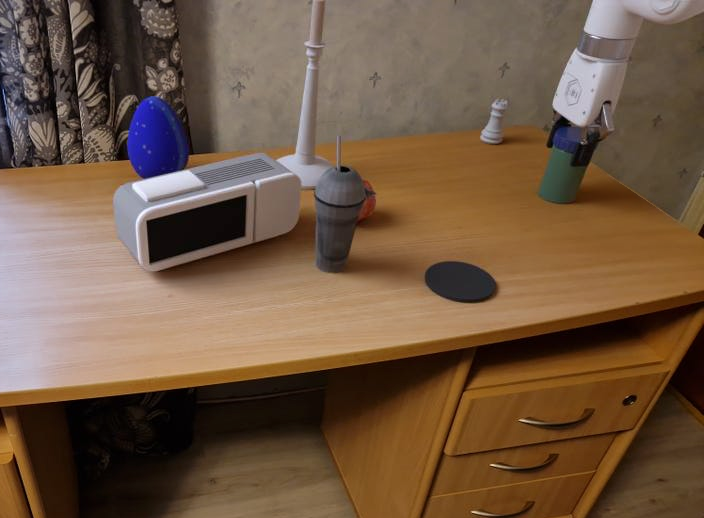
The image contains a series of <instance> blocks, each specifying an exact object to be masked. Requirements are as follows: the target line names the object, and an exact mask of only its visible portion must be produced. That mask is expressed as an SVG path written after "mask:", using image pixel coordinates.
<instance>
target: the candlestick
mask: <svg viewBox="0 0 704 518" xmlns="http://www.w3.org/2000/svg"><path fill="white" fill-rule="evenodd" d="M311 5H312V6H311V18H310V27H309V29H310V31H309V40H308V41H304V42H303V44H304V46H305V47H306V52H305V54H306V56H307V57H308V64H307V65H306V73H305V74H306V75H305V79H304V80H305V81H304V88H303V96H302V103H301V111H300V118H299V124H298V132H297V134H298V135H297V139H296V140H297V141H296V147H295V153H294V154H288V155H284V156H282V157H280V158H278V159H275V160H276V161H277V162H279V163H280V164H282V165H283V166H284V167H286V168H287V169H289V170H290V171H292V172H293V173H294V174H296V175H297V176H299V178H300V180H301V184H302V188H301V190H307V191H308V190H309V191H311V190H315V189H316V185H317V183H318V181H319V179H320V178H321V176H322V175H323V174H324V173H325V172H326V171H327V170H329V169H330V168H332V167H335V166H336V165H334V164H333V162H331V161H330V160H328V159H326V158H325V157H322V156H319V155H316V139H317V138H316V136H317V135H316V134H317V116H318V115H317V114H318V95H319V74H320V66H319V61H320V58H321V57H322V56H323V49H324V47H326V46H327V42H324V41H322V40H323V31H324V19H325V10H326V9H325V8H326V0H312V4H311Z"/></svg>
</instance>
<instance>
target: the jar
mask: <svg viewBox="0 0 704 518" xmlns="http://www.w3.org/2000/svg"><path fill="white" fill-rule="evenodd" d="M573 153H574V152H571V151H567V150H564V149H561V148H559V147H557V146H556V145H555V144H554V143H553V146H552V148H550V153H549V155H548V158H547V161H546V164H545V168H544V170H543V173H542V175H541V179H540V181H539V182H540V183H539V185H538V189H537V195H538V196H539V197H540V198H541V199H542V200H544V201H547V202H550V203H553V204H560V205H562V204H563V205H565V204H567V205H568V204H571V203H573V202H575V201H576V198H577V195H578V193H579V190H580V188H581V185H582V182H583V180H584V177H585V174H586V172H587V169H588V167H589V165H588V166H579V167H572V166H570V162H571V159H572V156H573Z"/></svg>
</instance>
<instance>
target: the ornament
mask: <svg viewBox="0 0 704 518" xmlns="http://www.w3.org/2000/svg"><path fill="white" fill-rule="evenodd" d="M126 147H127V154H128V159H129V163H130V164H131V166H132V168H133V170H134V171H135V173H136V174H137V175H138V176H139V177H140V178H141V179H142V180H143V179H147V178H151V177H156V176H160V175H164V174H169V173H173V172H177V171H181V170H185V169H186V167H187V165H188V163H189V158H190V148H189V143H188V139H187V136H186V133H185V130H184V128H183V125H182V122H181V121H180V119H179V117H178V115H177V114H176V112H175V111H174V109H173V108H172V107H171V106H170V105H169V103H168V102H167V101H166V100H164V99H163V98H161V97H159V96H156V95H154V96H153V95H151V96H149V97H147V98H144V100H142V101H141V102H140V103H139V104H138V106H137V108H136V110H135V111H134V114H133V116H132V119H131V122H130V125H129V130H128V134H127V145H126Z"/></svg>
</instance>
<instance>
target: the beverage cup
mask: <svg viewBox="0 0 704 518" xmlns="http://www.w3.org/2000/svg"><path fill="white" fill-rule="evenodd" d="M336 148H337V149H336V165H334V166H335V167H332V168H330V169H329V170H327V171H326V172H325V173H324V174H323V175H322V176H321V178H320V179H319V181H318V183H317V185H316V189H314V191H313V197H314V206H315V216H316V217H315V266H316V268H317V269H318V270H320V271H322V272H323V273H324V272H325V273H329V274H330V273H331V274H332V273H333V274H336V273H340V272H342V271H343V270H345V269H346V266H347V262H348V259H349V256H350V252H351V249H352V244H353V241H354V235H355V232H356V228H357V224H358V222H359V221H358V217H359V213H360V211H361V209H362V206H363V203H364V201H365V199H366V198H365V186H364V182H363V180H364V179H363V177H362V176H361V174H360V173H359V172H358V171H357V170H356V169H354V168H352V167H351V166H348V165H341V162H342V161H341V160H342V159H341V158H342V156H341V155H342V135H341V134H339V133H338V134H336Z"/></svg>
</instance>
